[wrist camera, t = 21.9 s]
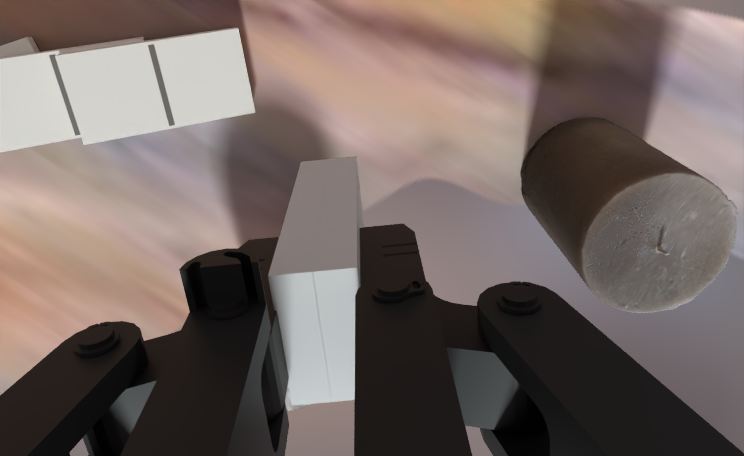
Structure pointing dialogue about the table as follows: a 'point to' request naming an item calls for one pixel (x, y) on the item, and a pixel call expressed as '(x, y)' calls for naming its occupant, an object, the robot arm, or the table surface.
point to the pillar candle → (628, 215)
